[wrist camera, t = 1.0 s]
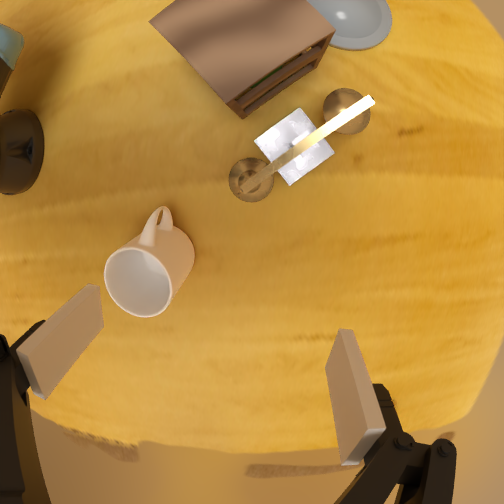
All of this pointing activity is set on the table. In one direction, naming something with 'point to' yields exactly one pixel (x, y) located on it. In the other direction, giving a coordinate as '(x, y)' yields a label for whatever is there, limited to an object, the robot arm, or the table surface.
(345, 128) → the balance
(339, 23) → the dish
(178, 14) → the crate
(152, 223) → the mug
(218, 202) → the table surface
